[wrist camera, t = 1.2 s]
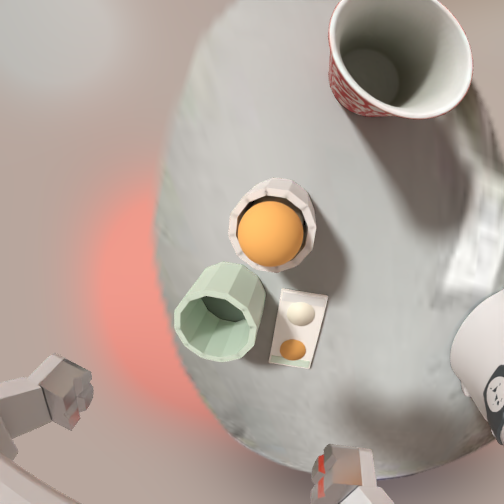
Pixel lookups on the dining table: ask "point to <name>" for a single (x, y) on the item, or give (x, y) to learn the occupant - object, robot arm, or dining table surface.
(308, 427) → the dining table surface
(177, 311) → the tube green
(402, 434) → the dining table surface
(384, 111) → the mug
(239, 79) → the dining table surface
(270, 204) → the ball orange
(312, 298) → the card
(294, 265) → the tube grey
